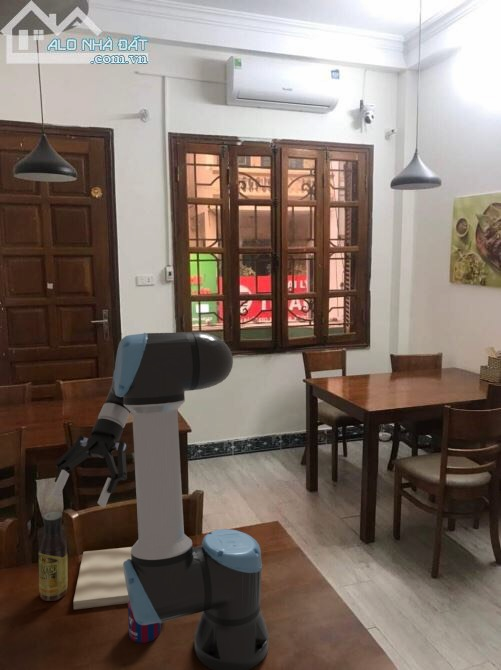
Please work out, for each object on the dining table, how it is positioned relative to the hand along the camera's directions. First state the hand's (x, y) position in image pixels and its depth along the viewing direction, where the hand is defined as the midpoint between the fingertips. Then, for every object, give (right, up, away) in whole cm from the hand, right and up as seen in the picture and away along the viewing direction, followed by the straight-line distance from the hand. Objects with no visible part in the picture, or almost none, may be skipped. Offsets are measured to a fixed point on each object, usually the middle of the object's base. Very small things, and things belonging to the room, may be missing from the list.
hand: (77, 501), depth 126 cm
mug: (+21, -22, -17) cm, 35 cm away
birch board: (+8, -19, 0) cm, 21 cm away
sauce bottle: (-3, -20, -6) cm, 21 cm away
